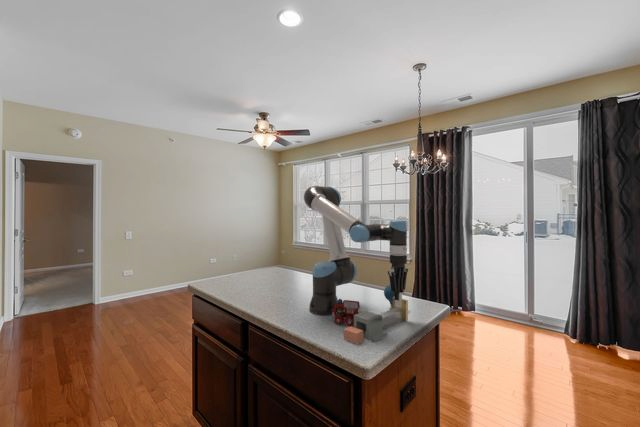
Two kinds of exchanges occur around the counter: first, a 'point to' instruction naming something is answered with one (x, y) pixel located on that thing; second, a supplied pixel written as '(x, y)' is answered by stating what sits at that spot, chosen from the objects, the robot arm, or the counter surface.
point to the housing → (370, 325)
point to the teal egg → (389, 295)
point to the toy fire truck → (345, 312)
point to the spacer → (353, 334)
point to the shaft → (394, 315)
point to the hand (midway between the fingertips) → (398, 306)
